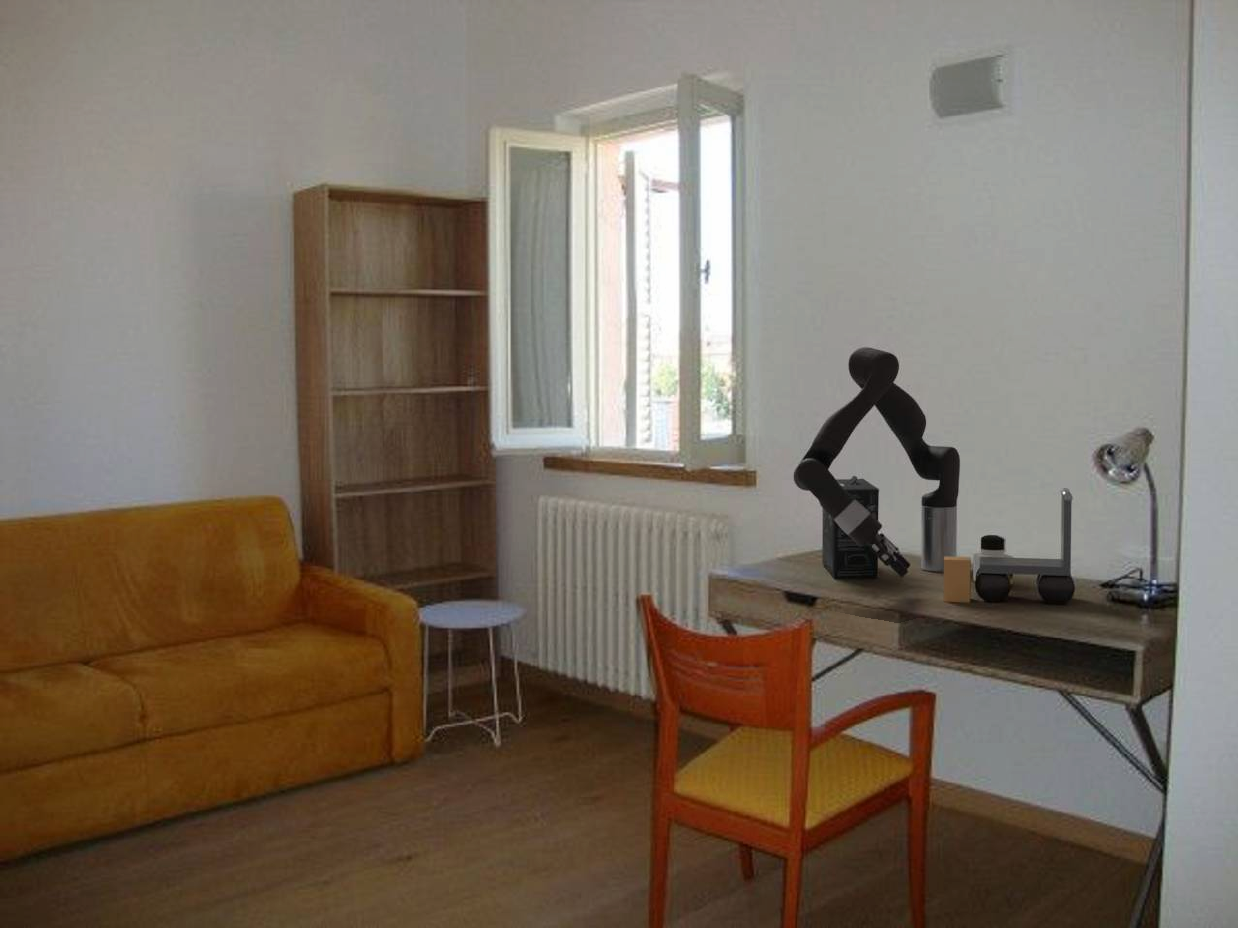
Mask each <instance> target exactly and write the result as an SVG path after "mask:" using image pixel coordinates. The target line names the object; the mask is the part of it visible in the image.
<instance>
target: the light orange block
mask: <svg viewBox="0 0 1238 928" xmlns="http://www.w3.org/2000/svg"><path fill="white" fill-rule="evenodd" d="M971 569H972V557H971V556H957V557H946V556H945V557H944V571H943V602H948V603H949V602H950V603H951V602H952V603H969V602H970V603H971V600H970V599H972V596H971V595H972V593H971V591H972V590H971V589H972V588H971V586H972V583H971V582H972V570H971Z"/></svg>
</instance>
